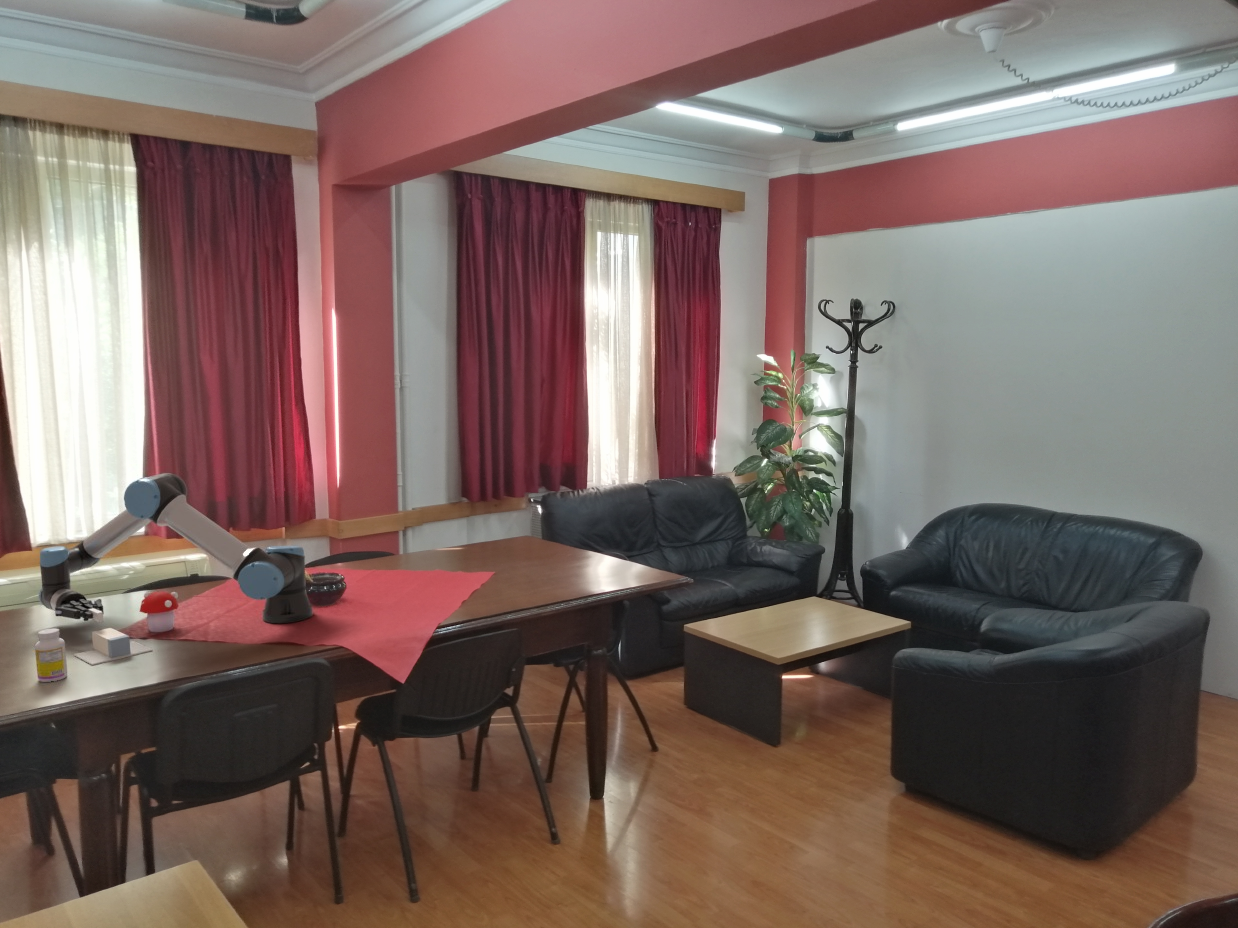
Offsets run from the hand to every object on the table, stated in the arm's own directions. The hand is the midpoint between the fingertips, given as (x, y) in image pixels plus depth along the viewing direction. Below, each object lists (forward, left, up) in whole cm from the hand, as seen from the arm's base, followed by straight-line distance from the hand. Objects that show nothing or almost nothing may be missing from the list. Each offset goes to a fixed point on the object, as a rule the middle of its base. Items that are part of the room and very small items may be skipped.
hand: (100, 617), depth 265 cm
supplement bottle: (-11, +22, -10) cm, 26 cm away
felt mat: (-7, +1, -9) cm, 11 cm away
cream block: (+1, -1, -6) cm, 6 cm away
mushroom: (+1, -20, -10) cm, 22 cm away
